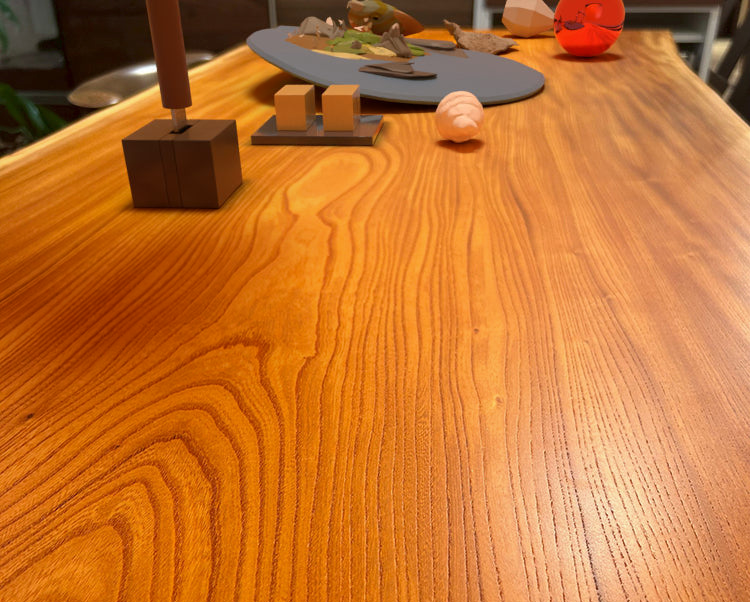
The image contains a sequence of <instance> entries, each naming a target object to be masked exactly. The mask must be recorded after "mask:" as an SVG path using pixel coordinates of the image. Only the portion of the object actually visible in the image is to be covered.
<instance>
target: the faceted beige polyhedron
mask: <svg viewBox="0 0 750 602" xmlns="http://www.w3.org/2000/svg"><path fill="white" fill-rule="evenodd" d="M554 14H555V12H554V11H553V10H552V9H551V8H550V7H549V6H548V5H547V4H546V3H545V2H544V0H506V1H505V6H504V9H503V13H502V18H501V23H502V24H503V26H504V27H505V28H506V30H508V31H509V33H510V34H511V35H513V36H517V37H521V38H526V39H528V38H531V37H534V36H536V35H539V34H541V33H544V32H546V31H549V30H553V19H554Z"/></svg>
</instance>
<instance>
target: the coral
mask: <svg viewBox="0 0 750 602" xmlns="http://www.w3.org/2000/svg"><path fill="white" fill-rule="evenodd" d="M442 22H443V25H444V27H445V29H446V30H447V32H448V33H449V35H450V36H452V37H453V38H454V40H455V42H456V46H458V47H457V48H458V49H464V50H471V51H477V52H483V53H488V54H493V55H497V54H498V53H501V52H506V51H507V49H510V48H512V47H513V46H519V44H518V42H517V41H515V40H514V39H513V38H511V37H510V38H509V37H508V38H506V37H501V36H500V35H496V34H494V33H492V32H486V33H485V32H474V31H473V32H471V31H463V30H462V28H461V26H460V25H458V24H457V23H455V22H454V21H453V22H449V21H448V20H447V19H442Z"/></svg>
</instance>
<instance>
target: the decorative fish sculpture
mask: <svg viewBox="0 0 750 602" xmlns="http://www.w3.org/2000/svg"><path fill="white" fill-rule="evenodd" d="M347 5H348V8H349V11H348V13H347V20H348V22H349V25H350V26H351V28H352V30H356V31H359V32H363V33H364V32H369V33H372V34H375V35H379V36H382V35H383V33H384V32H387V33H388V32H389V30H390V28H391V27H392V26H393V25H394V24H396V23H397V22H398V24H399V31H400V35H402V34H403V36H404V38H407V37H409V36H412V35H416V34H419V33H422V32H424V31H425V30H426V27H424V25H423V24H422V23H420V21H418V20H417V19H415V18H414V17H412V16H411V15H409V14H407V13H406V12H403V11H401V10H400V9H398V8H396V7H395V6H393V5H390V4H389V3H388V4H387V3H385V2H383V1H382V0H362V1H359V0H349V1H348V2H347ZM364 18H368V20H367V21H366V22H365V21H364ZM349 20H352V21H353V23H350V21H349ZM370 22H372V25H371V28H369V27H368V30H367V31H365V29H364V27H362V28H360V29H361V30H362V31H360V30H358V29H355V28H354V27H361V26H367V25H368V24H369V23H370ZM370 31H371V32H370Z"/></svg>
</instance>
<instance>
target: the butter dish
mask: <svg viewBox="0 0 750 602" xmlns="http://www.w3.org/2000/svg"><path fill="white" fill-rule="evenodd" d="M315 94H316V93H315V85H314V84H285V85H284V86H283V87H282V88H280V89H279V90H278V91H277V92H275V94H273V97H274V111H275V114H273V115H272V116H270V117H268V118H267V120H266V121H265V122H264V123H263V124H262V125H261V126H259V128H258V129H256V131H254V132H253V133H252V134H251V135H250V141H251V142H250V143H251V145H258V146H259V145H260V146H261V145H262V146H263V145H265V146H266V145H268V146H269V145H270V146H271V145H273V146H275V145H276V146H278V145H279V146H281V145H282V146H293V145H294V146H374V143H375V141H376V139H377V137H378V135H379V133H380V131H381V129H382V127H383V125H384V115H383V114H361V97H360V85H330V86H329V87H328V88H326V89H325V91H324V92H323V93H322V94H321V107H322V108H321V109H322V114H316V113H317V112H316V110H317V109H316V95H315Z"/></svg>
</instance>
